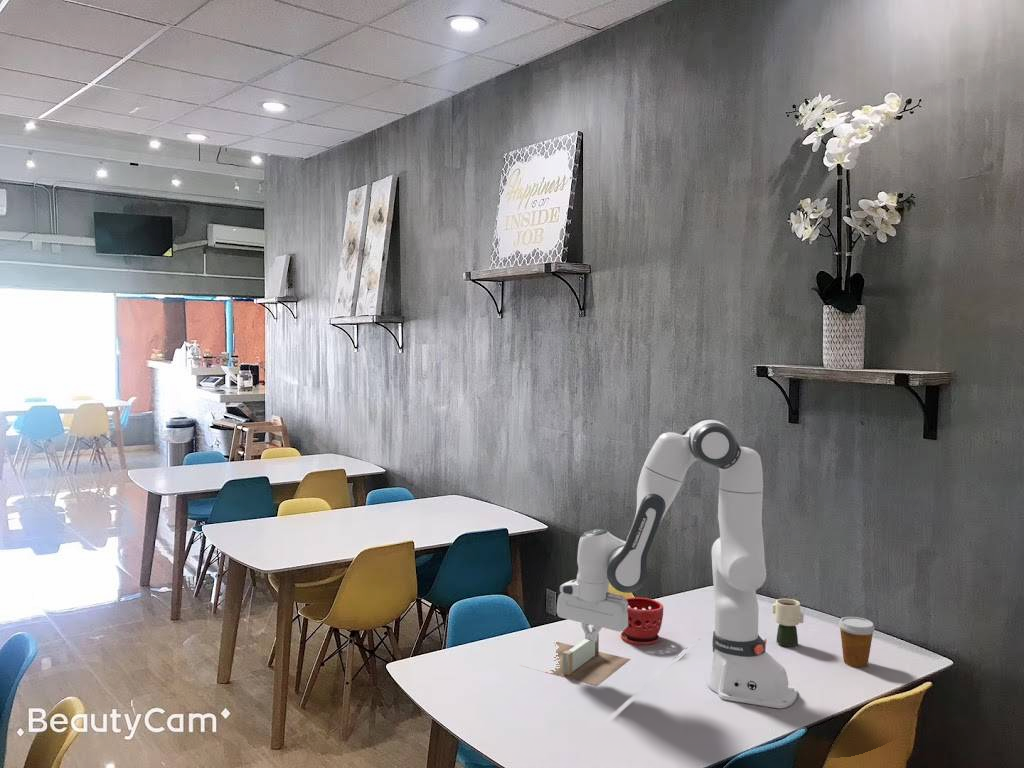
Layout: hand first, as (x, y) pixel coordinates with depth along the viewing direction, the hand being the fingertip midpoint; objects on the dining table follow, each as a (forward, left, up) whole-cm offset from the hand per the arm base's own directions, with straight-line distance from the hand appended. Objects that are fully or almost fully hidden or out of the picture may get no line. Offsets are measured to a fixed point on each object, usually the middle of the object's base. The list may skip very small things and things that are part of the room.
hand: (591, 639), depth 217 cm
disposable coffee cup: (-59, -50, -11) cm, 78 cm away
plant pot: (-1, -32, -11) cm, 34 cm away
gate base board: (+7, -5, -11) cm, 14 cm away
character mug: (-39, -54, -11) cm, 67 cm away
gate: (+5, -4, -9) cm, 11 cm away
